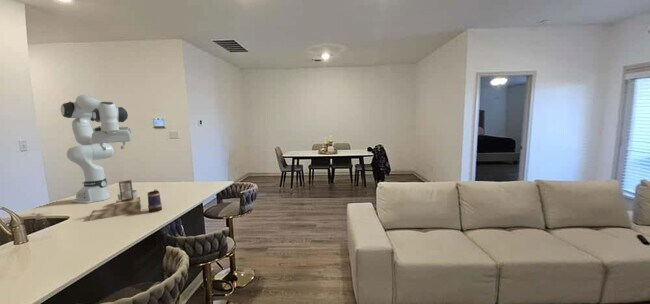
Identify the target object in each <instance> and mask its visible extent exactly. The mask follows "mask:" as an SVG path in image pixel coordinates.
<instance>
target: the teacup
mask: <svg viewBox="0 0 650 304" xmlns="http://www.w3.org/2000/svg"><path fill="white" fill-rule="evenodd" d="M116 195H117V199H118V200H121V195H120V192H119V193H117V194H116ZM133 196H134V198H136V197H138V192H137V190H136V189H133Z"/></svg>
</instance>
